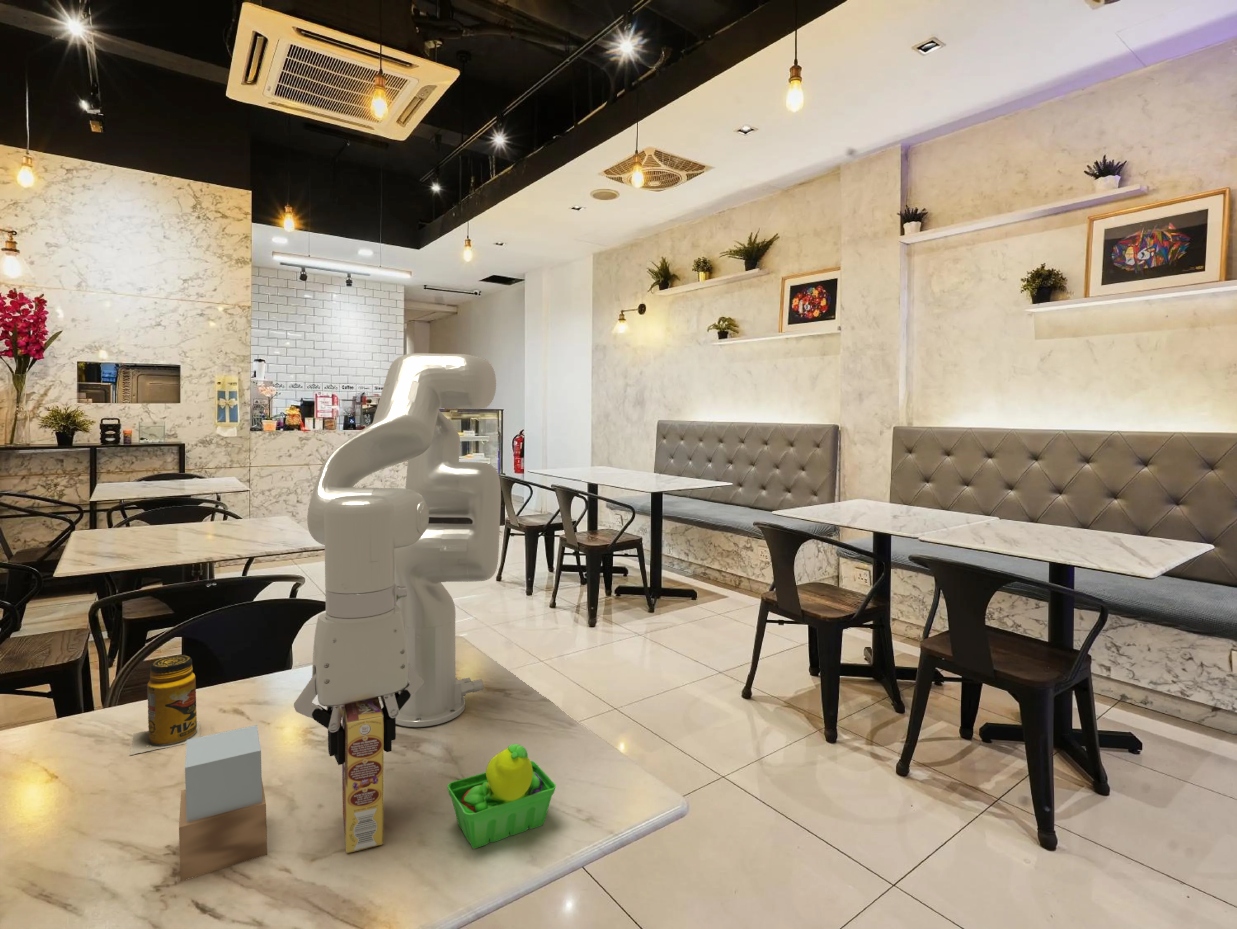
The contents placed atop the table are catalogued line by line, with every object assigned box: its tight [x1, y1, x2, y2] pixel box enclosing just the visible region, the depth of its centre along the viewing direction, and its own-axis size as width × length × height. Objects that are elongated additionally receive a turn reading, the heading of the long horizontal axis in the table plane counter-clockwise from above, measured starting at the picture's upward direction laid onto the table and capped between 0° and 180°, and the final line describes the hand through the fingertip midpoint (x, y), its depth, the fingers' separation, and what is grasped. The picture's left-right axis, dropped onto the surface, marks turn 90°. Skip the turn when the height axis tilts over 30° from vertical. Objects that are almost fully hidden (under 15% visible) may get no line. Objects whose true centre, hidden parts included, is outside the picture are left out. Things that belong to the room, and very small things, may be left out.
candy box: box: [341, 697, 384, 854], centre depth 76 cm, size 9×4×15 cm, turn 26°
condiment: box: [129, 655, 201, 756], centre depth 97 cm, size 7×8×12 cm
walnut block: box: [178, 781, 268, 882], centre depth 73 cm, size 8×8×6 cm
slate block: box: [184, 724, 263, 822], centre depth 72 cm, size 7×7×6 cm
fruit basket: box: [446, 743, 557, 850], centre depth 76 cm, size 11×9×11 cm
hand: (362, 751), depth 76 cm, fingers closed on candy box, 4 cm apart
